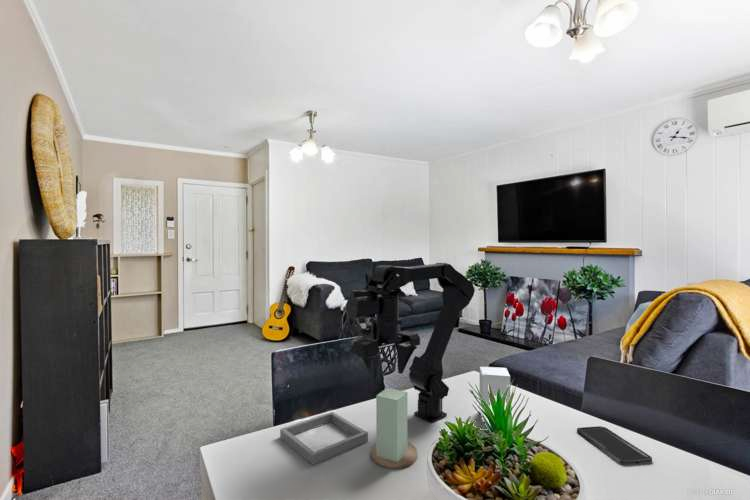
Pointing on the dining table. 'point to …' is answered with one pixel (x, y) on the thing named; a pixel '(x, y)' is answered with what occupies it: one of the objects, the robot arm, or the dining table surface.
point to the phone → (614, 446)
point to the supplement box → (493, 382)
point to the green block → (391, 424)
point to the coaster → (402, 463)
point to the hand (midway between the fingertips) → (387, 377)
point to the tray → (328, 451)
